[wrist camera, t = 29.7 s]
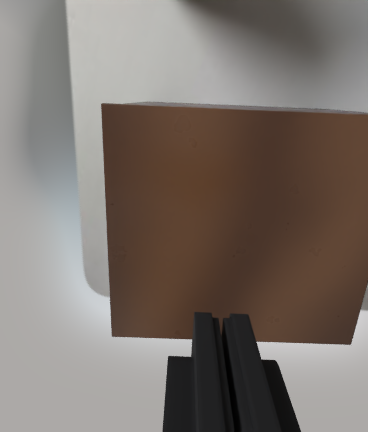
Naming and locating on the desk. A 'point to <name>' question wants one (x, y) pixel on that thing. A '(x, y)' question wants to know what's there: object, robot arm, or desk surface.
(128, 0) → the desk surface
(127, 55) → the desk surface
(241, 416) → the robot arm
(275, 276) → the lid
